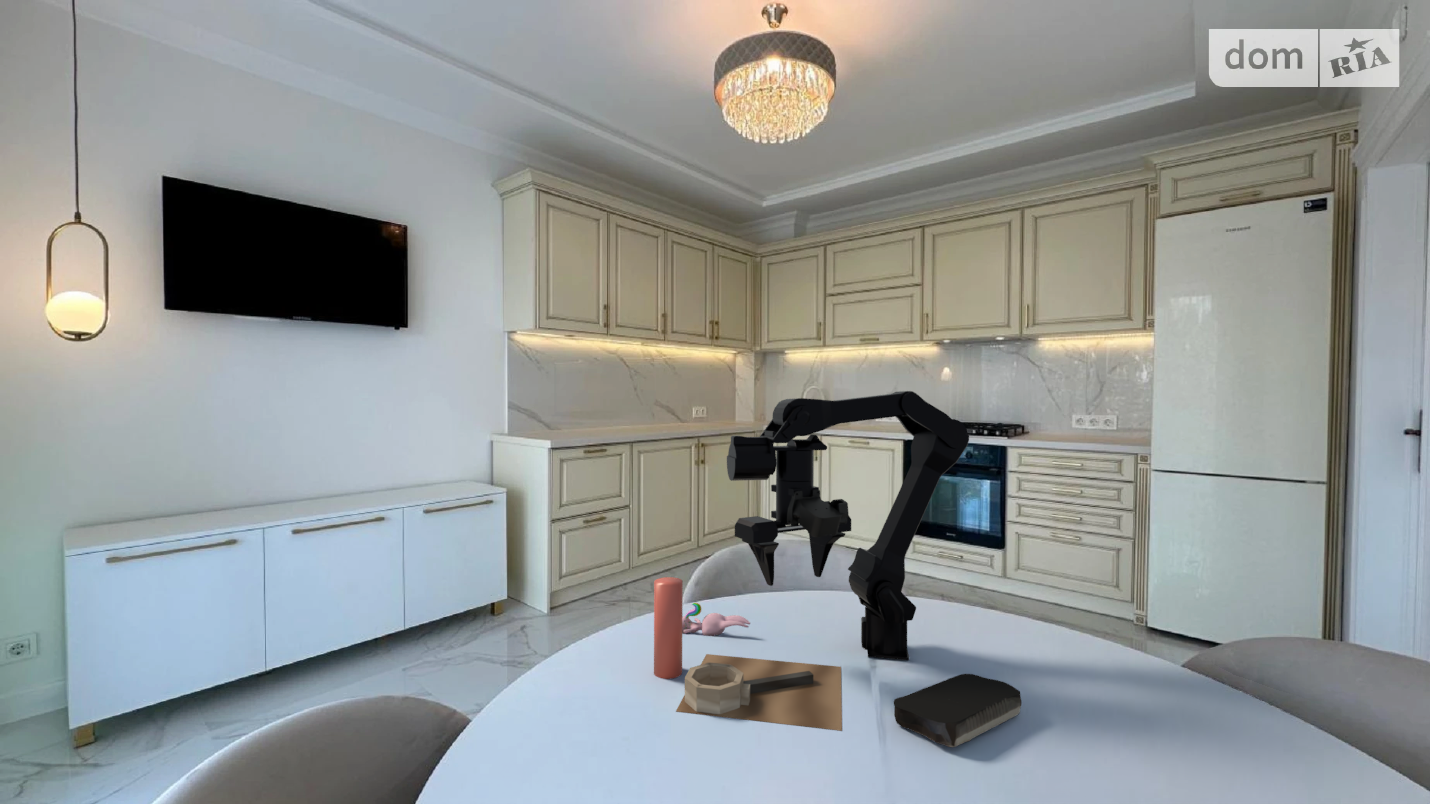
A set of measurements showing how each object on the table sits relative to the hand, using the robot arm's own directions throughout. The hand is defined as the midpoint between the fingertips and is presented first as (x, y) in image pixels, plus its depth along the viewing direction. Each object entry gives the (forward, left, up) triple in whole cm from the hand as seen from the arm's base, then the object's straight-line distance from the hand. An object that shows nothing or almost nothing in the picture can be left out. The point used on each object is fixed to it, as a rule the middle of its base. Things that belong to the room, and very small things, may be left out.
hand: (794, 580), depth 89 cm
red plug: (+17, +11, -12) cm, 23 cm away
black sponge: (-21, +13, -13) cm, 28 cm away
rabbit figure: (+15, -6, -12) cm, 20 cm away
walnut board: (+3, +12, -12) cm, 18 cm away
